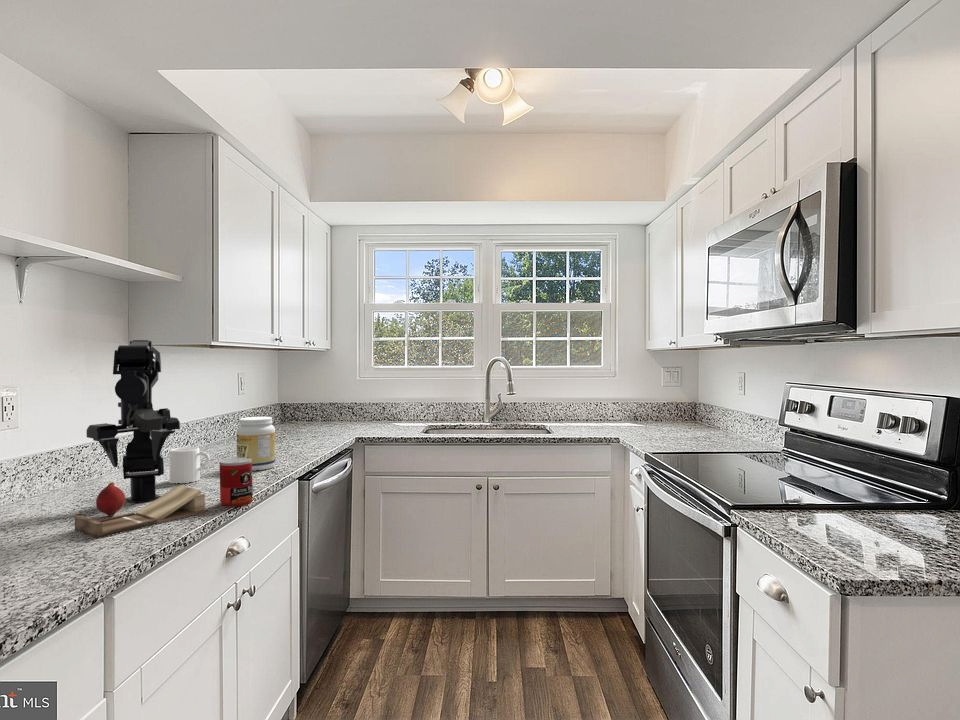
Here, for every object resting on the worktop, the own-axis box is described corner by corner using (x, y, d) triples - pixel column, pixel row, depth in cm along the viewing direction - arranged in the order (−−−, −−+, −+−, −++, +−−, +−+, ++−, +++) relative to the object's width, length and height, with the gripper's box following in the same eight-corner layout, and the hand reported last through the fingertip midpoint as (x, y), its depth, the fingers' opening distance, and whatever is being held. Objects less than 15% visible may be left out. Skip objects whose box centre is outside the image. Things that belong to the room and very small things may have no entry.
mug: (202, 484, 168) (202, 451, 168) (164, 484, 169) (163, 451, 169) (217, 478, 176) (216, 446, 176) (180, 478, 177) (179, 446, 177)
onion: (111, 519, 132) (110, 485, 132) (90, 518, 133) (89, 484, 133) (131, 513, 137) (130, 480, 137) (111, 512, 138) (110, 479, 138)
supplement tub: (230, 468, 191) (229, 418, 191) (263, 463, 201) (263, 415, 201) (248, 473, 183) (247, 420, 183) (282, 467, 193) (281, 417, 193)
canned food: (232, 508, 140) (232, 464, 140) (213, 504, 144) (212, 461, 144) (259, 501, 147) (258, 459, 147) (240, 498, 151) (239, 456, 151)
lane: (74, 530, 124) (74, 516, 124) (180, 506, 143) (179, 494, 143) (97, 538, 118) (97, 524, 118) (204, 512, 137) (203, 500, 137)
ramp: (135, 516, 134) (135, 493, 134) (183, 506, 143) (182, 484, 143) (157, 523, 128) (157, 499, 128) (205, 511, 138) (204, 489, 138)
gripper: (109, 403, 122) (111, 475, 123) (192, 396, 138) (193, 460, 139) (84, 400, 128) (86, 469, 129) (166, 394, 144) (167, 455, 145)
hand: (136, 463), depth 135 cm, fingers open, 9 cm apart
